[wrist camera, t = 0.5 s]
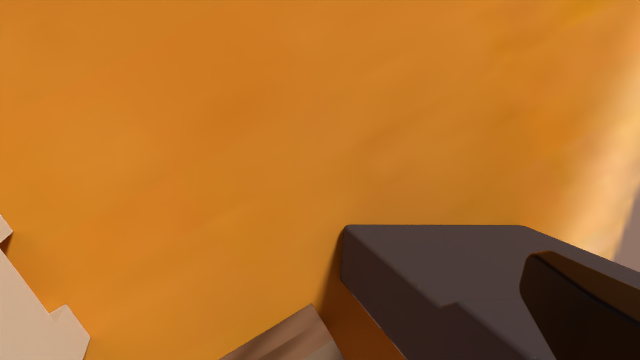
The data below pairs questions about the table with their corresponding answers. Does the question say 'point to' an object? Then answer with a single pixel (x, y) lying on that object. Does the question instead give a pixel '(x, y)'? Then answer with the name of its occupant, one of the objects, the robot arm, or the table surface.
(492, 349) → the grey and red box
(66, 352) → the notched plate
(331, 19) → the table surface
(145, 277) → the table surface
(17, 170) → the table surface
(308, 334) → the slotted beam
